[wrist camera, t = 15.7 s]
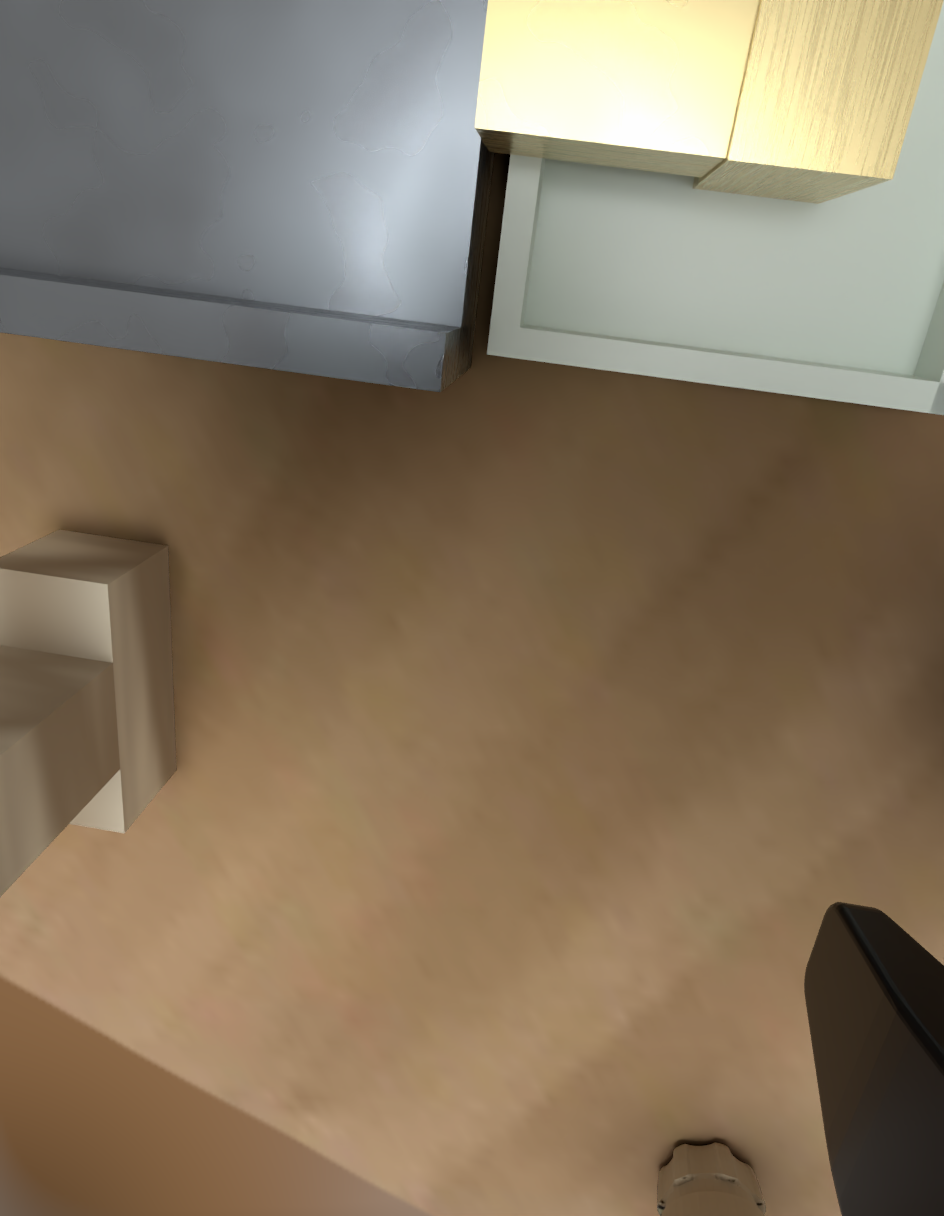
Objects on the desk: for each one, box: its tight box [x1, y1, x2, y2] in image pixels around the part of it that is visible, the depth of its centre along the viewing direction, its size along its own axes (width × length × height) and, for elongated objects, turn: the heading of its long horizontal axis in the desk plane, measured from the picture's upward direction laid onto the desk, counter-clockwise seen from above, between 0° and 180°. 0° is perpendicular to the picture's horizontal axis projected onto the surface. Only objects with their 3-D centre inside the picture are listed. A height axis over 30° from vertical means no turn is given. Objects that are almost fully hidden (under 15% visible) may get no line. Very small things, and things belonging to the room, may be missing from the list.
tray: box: [487, 1, 944, 415], centre depth 15 cm, size 10×11×2 cm
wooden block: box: [692, 0, 944, 204], centre depth 13 cm, size 4×4×2 cm
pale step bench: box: [0, 530, 177, 897], centre depth 18 cm, size 3×7×9 cm, turn 174°
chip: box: [475, 0, 760, 178], centre depth 13 cm, size 4×4×2 cm
